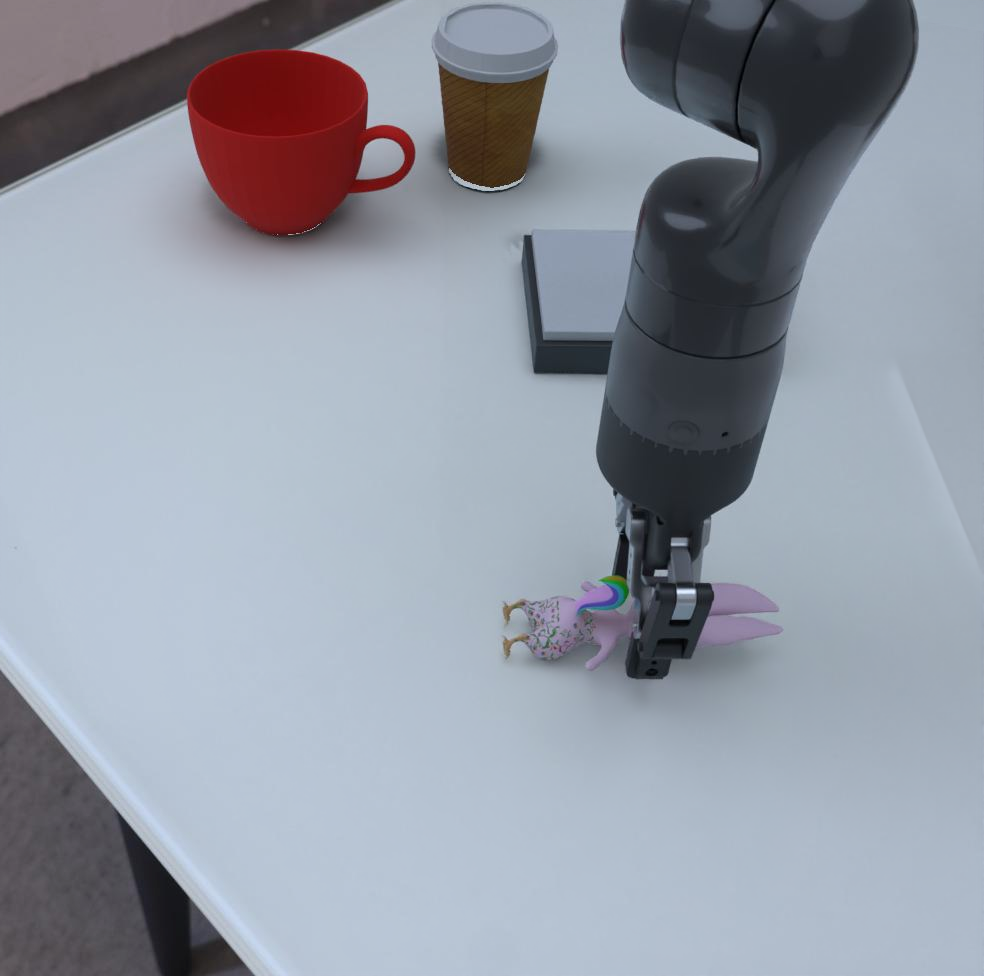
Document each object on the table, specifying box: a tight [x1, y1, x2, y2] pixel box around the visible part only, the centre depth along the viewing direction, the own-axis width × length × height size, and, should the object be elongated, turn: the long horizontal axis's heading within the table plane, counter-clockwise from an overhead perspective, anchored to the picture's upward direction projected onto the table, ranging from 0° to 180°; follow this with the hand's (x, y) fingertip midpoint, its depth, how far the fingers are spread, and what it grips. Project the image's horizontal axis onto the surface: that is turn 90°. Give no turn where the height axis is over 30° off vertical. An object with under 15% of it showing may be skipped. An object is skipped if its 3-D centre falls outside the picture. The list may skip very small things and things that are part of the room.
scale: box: [521, 228, 636, 375], centre depth 92 cm, size 16×13×3 cm
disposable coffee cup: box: [431, 1, 559, 188], centre depth 102 cm, size 10×10×12 cm
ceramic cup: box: [186, 48, 416, 236], centre depth 97 cm, size 13×17×10 cm
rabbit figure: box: [501, 575, 784, 672], centre depth 70 cm, size 6×6×15 cm
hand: (638, 626), depth 71 cm, fingers closed on rabbit figure, 5 cm apart
